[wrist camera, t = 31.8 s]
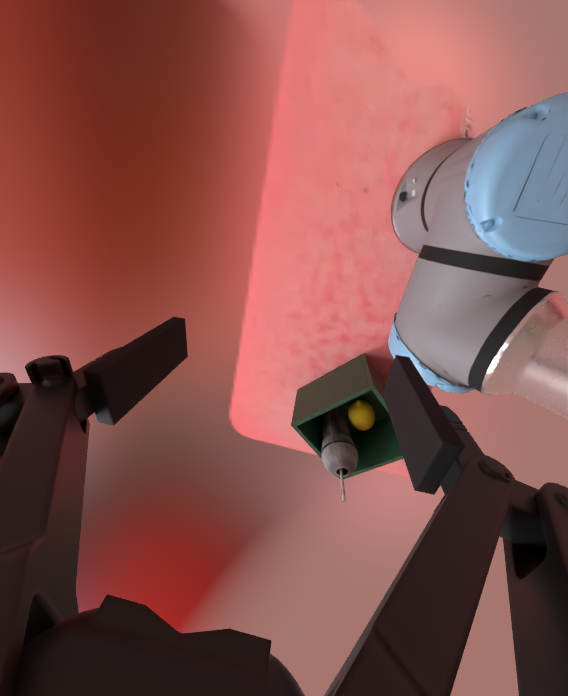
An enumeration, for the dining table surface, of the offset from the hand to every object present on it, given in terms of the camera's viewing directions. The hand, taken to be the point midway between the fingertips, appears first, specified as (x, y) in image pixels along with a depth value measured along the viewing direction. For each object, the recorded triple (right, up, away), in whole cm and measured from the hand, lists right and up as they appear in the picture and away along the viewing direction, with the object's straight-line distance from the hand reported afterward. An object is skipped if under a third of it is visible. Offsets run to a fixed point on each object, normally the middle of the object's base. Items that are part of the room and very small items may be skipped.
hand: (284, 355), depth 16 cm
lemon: (+16, -11, +38) cm, 42 cm away
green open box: (+15, -12, +42) cm, 46 cm away
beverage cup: (+11, -15, +44) cm, 48 cm away
